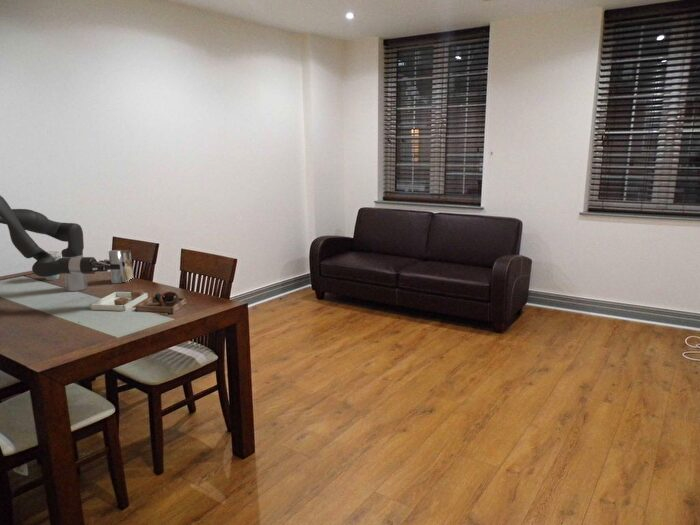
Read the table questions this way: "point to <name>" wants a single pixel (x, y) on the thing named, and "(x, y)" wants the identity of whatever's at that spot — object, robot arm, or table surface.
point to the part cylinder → (116, 258)
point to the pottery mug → (167, 299)
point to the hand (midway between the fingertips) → (122, 265)
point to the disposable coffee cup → (56, 256)
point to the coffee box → (127, 265)
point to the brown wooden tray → (144, 307)
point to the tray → (108, 301)
